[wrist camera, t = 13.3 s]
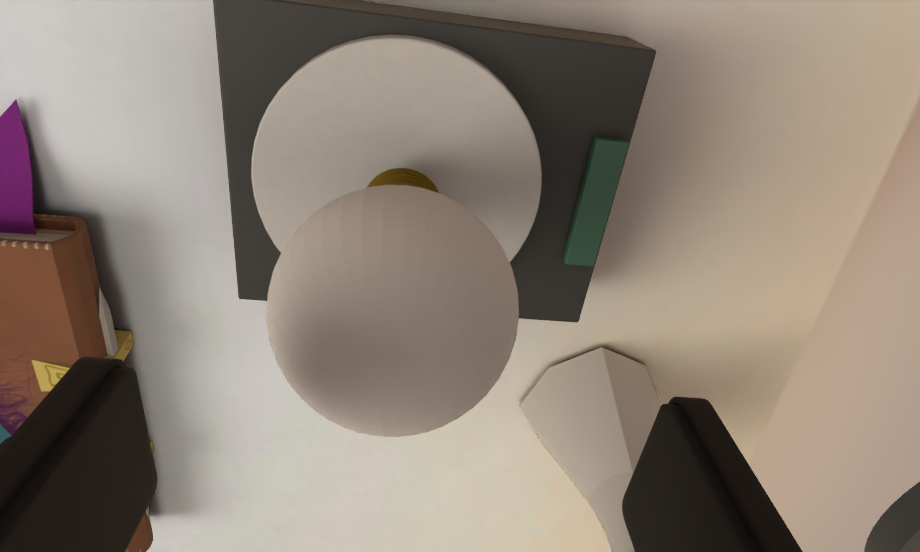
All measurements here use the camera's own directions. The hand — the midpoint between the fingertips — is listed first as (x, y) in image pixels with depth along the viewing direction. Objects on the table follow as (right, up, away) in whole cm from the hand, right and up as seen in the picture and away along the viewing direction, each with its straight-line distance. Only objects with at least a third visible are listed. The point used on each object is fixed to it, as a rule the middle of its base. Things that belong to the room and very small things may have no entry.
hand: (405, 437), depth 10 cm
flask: (+8, -4, +20) cm, 22 cm away
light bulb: (-1, +6, +9) cm, 11 cm away
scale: (0, +8, +13) cm, 15 cm away
